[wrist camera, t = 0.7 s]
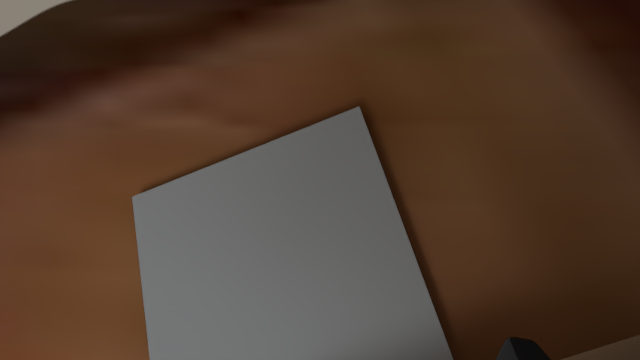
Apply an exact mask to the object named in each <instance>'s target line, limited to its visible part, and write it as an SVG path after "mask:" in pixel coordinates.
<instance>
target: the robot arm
mask: <svg viewBox="0 0 640 360" xmlns="http://www.w3.org/2000/svg"><path fill="white" fill-rule="evenodd" d="M496 360H551V359H550V358H549V357H548V356H547V355H546V354H545V352H544V351H543V350H542V349H541V348H540V347H539V346H538V344H537V343H535V342H534V341H532V340H529V339H523V338H517V337H509V338H508V339H506V341H505V342H504V344H503V346H502V348H501V350H500V353H499V355H498V357H497V359H496Z"/></svg>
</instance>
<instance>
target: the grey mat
mask: <svg viewBox="0 0 640 360" xmlns="http://www.w3.org/2000/svg"><path fill="white" fill-rule="evenodd" d="M132 200H133V209H134V219H135V228H136V237H137V246H138V255H139V264H140V273H141V283H142V292H143V301H144V310H145V319H146V328H147V338H148V347H149V356H150V360H454V359H453V357H452V354H451V351H450V348H449V346H448V343H447V340H446V338H445V335H444V332H443V330H442V327H441V324H440V322H439V319H438V316H437V313H436V311H435V308H434V305H433V303H432V300H431V297H430V295H429V292H428V289H427V287H426V284H425V281H424V279H423V276H422V273H421V270H420V268H419V265H418V262H417V260H416V257H415V254H414V252H413V249H412V246H411V244H410V241H409V238H408V235H407V233H406V230H405V227H404V225H403V222H402V219H401V217H400V214H399V211H398V209H397V206H396V203H395V200H394V198H393V195H392V192H391V190H390V187H389V184H388V182H387V179H386V176H385V174H384V171H383V168H382V165H381V163H380V160H379V157H378V155H377V152H376V149H375V147H374V144H373V141H372V139H371V136H370V133H369V130H368V128H367V125H366V122H365V120H364V117H363V114H362V112H361V109H360V107H356V108H354V109H351V110H349V111H346V112H344V113H341V114H339V115H336V116H334V117H331V118H329V119H326V120H324V121H321V122H319V123H316V124H314V125H311V126H309V127H306V128H304V129H301V130H299V131H296V132H293V133H291V134H288V135H286V136H283V137H281V138H278V139H276V140H273V141H271V142H268V143H266V144H263V145H261V146H258V147H256V148H253V149H251V150H248V151H246V152H243V153H241V154H238V155H236V156H233V157H231V158H228V159H226V160H223V161H221V162H218V163H216V164H213V165H211V166H208V167H206V168H203V169H201V170H198V171H196V172H193V173H191V174H188V175H186V176H183V177H181V178H178V179H176V180H173V181H171V182H168V183H166V184H163V185H161V186H158V187H156V188H153V189H151V190H148V191H146V192H143V193H141V194H138V195H136V196H133V197H132Z"/></svg>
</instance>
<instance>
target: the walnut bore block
mask: <svg viewBox="0 0 640 360" xmlns="http://www.w3.org/2000/svg"><path fill="white" fill-rule="evenodd" d="M561 360H640V335H637V336H634V337H631V338H627V339H624V340H621V341H618V342H615V343H612V344H608V345H605V346H602V347H599V348H596V349H593V350H589V351H586V352H583V353H580V354H577V355H574V356H570V357H567V358H564V359H561Z"/></svg>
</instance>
